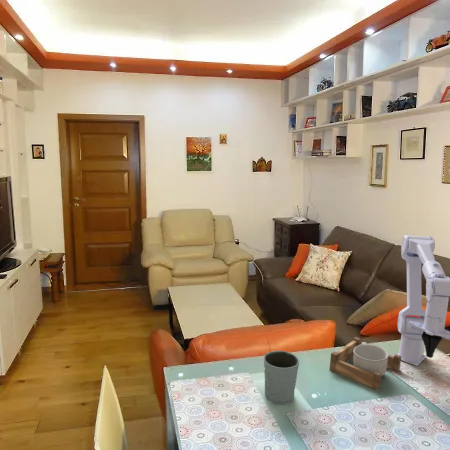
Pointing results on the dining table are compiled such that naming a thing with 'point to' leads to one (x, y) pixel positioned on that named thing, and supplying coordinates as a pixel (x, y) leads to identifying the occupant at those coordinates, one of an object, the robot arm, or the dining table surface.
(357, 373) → the wooden frame
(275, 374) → the grey tumbler
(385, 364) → the teacup
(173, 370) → the dining table surface
